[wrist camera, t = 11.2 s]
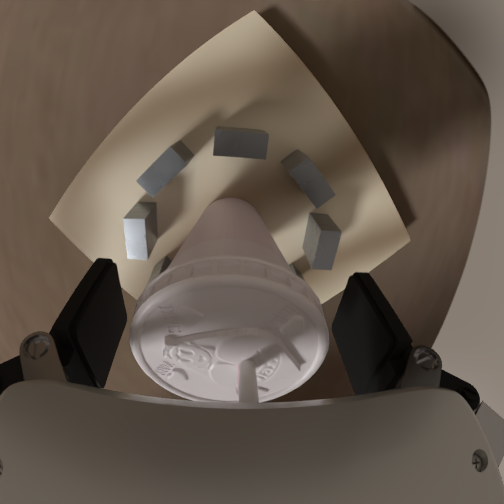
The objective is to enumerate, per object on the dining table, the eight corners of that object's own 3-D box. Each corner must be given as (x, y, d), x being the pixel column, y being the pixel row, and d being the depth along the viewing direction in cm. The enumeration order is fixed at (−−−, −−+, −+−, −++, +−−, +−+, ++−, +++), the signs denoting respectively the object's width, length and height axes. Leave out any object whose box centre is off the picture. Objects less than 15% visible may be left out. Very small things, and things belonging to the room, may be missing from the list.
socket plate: (400, 231, 19) (410, 240, 18) (223, 349, 24) (222, 362, 23) (252, 17, 12) (254, 10, 10) (59, 209, 16) (48, 218, 15)
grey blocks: (357, 234, 17) (372, 254, 15) (225, 324, 20) (224, 350, 18) (245, 85, 13) (247, 81, 10) (104, 219, 16) (87, 237, 13)
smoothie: (265, 281, 19) (301, 505, 6) (169, 260, 17) (109, 490, 5) (299, 191, 16) (437, 432, 3) (188, 162, 14) (43, 412, 2)
